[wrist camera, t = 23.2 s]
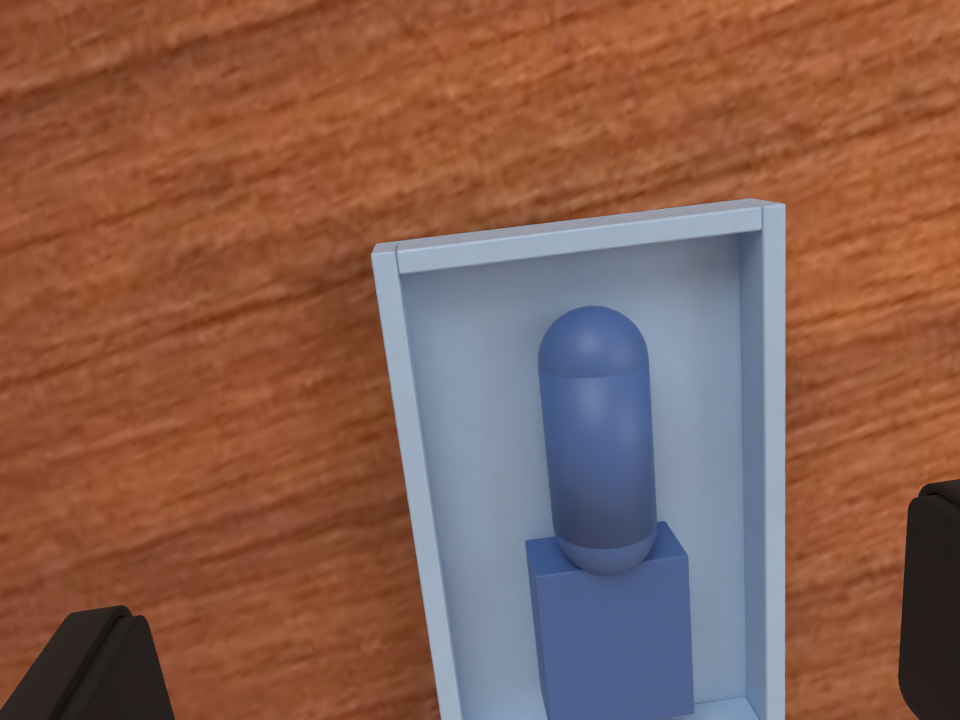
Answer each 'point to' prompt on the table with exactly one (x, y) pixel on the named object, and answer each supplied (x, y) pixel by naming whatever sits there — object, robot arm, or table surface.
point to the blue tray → (521, 443)
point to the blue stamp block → (606, 535)
